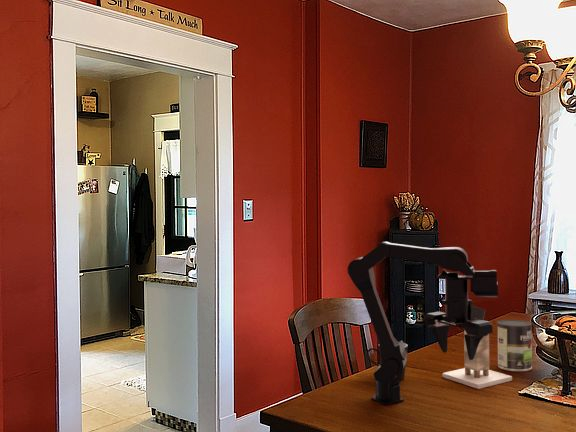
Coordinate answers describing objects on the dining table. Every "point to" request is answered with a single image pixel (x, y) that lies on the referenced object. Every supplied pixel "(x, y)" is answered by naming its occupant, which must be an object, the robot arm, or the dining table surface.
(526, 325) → the coffee can
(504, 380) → the peg stand
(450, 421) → the dining table surface
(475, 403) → the dining table surface
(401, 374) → the coffee mug
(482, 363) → the birch block
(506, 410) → the dining table surface
